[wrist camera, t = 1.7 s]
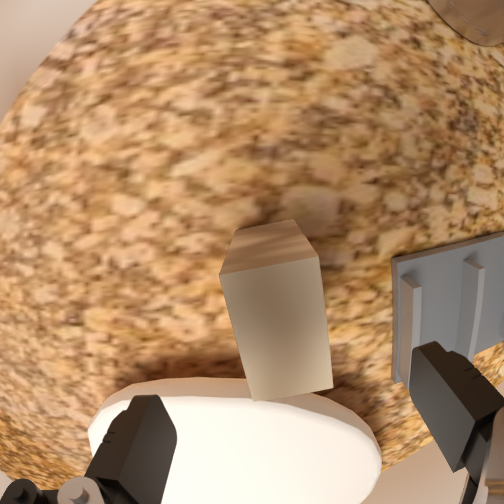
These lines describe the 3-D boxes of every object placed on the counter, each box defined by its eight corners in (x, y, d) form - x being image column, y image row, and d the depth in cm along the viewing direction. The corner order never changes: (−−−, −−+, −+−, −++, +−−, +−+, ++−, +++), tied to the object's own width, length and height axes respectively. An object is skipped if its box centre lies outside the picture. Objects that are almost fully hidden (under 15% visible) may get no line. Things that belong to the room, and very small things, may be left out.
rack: (540, 220, 17) (562, 228, 14) (529, 319, 20) (546, 332, 17) (391, 258, 19) (410, 273, 16) (391, 376, 21) (404, 399, 18)
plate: (380, 520, 22) (172, 541, 25) (370, 481, 28) (177, 505, 31) (403, 385, 12) (15, 424, 15) (366, 315, 19) (47, 374, 21)
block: (293, 218, 18) (318, 256, 10) (308, 308, 20) (333, 387, 12) (235, 229, 18) (218, 275, 11) (255, 318, 20) (253, 401, 12)
